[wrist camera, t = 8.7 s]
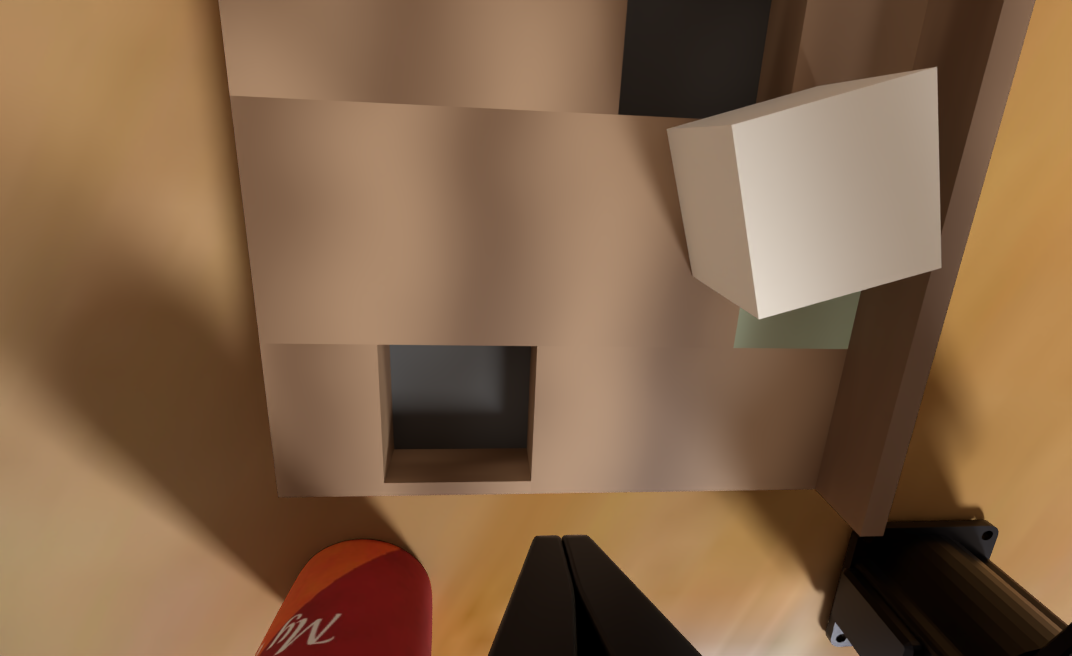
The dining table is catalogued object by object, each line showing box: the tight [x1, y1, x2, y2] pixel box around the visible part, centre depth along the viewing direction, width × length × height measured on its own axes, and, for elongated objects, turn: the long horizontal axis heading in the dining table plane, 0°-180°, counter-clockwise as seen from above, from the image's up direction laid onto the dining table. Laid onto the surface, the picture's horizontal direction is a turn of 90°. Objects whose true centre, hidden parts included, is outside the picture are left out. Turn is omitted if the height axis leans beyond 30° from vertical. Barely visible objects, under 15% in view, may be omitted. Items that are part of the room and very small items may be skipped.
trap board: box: [218, 0, 1035, 536], centre depth 17 cm, size 20×18×5 cm
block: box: [667, 67, 942, 319], centre depth 15 cm, size 4×4×4 cm
